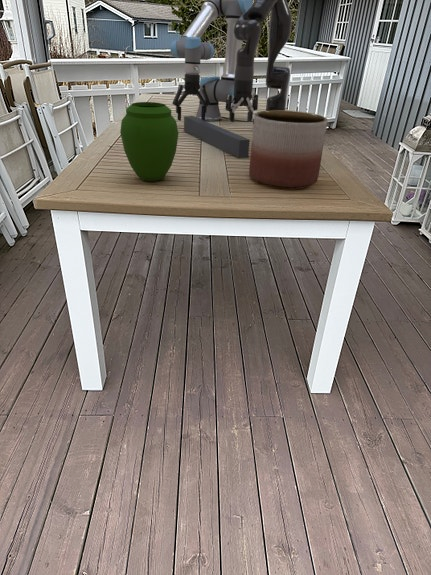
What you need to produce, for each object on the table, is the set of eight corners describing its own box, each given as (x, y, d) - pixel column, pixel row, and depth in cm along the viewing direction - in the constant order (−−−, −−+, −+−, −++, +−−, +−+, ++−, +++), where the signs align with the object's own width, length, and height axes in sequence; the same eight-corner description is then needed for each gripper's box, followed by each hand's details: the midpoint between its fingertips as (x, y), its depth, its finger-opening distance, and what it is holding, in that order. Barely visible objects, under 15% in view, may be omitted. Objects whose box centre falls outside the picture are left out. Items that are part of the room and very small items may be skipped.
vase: (131, 189, 135) (125, 110, 122) (118, 172, 150) (112, 100, 137) (186, 184, 142) (187, 109, 129) (169, 168, 157) (167, 99, 144)
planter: (327, 190, 144) (341, 124, 132) (258, 191, 139) (265, 122, 128) (303, 169, 165) (312, 110, 153) (241, 169, 161) (246, 109, 149)
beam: (183, 131, 217) (183, 116, 213) (192, 130, 219) (192, 115, 215) (238, 158, 176) (239, 140, 172) (248, 157, 178) (249, 139, 174)
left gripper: (171, 73, 192) (171, 121, 203) (218, 74, 203) (215, 120, 214) (165, 72, 198) (166, 119, 209) (211, 73, 208) (209, 118, 219)
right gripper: (233, 79, 158) (230, 124, 167) (263, 79, 164) (259, 122, 173) (223, 77, 164) (221, 120, 172) (253, 77, 170) (250, 119, 178)
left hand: (191, 120), depth 211 cm, fingers open, 13 cm apart
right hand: (240, 121), depth 172 cm, fingers open, 8 cm apart
